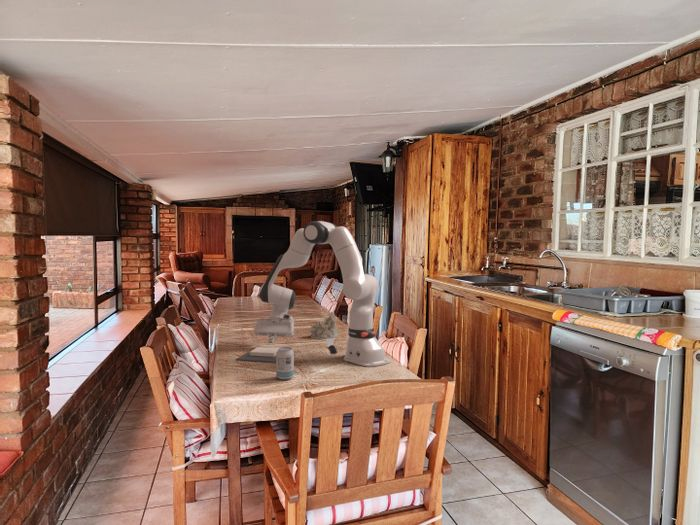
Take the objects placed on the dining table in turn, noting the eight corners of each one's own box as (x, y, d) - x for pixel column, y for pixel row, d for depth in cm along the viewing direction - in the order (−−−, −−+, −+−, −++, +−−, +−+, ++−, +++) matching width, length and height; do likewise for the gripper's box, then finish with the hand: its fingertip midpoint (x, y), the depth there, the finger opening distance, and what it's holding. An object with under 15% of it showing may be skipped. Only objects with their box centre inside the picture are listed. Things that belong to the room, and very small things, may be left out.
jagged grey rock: (340, 333, 260) (338, 308, 258) (336, 340, 244) (334, 314, 242) (314, 334, 261) (312, 309, 260) (308, 341, 245) (306, 315, 244)
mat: (250, 351, 218) (250, 350, 218) (289, 353, 214) (289, 352, 214) (236, 360, 202) (235, 359, 202) (277, 363, 198) (277, 361, 198)
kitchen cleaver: (317, 338, 244) (334, 336, 245) (317, 341, 244) (335, 339, 245) (319, 353, 213) (339, 350, 214) (319, 357, 213) (340, 354, 214)
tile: (258, 346, 218) (249, 351, 207) (282, 347, 216) (273, 353, 205) (259, 350, 218) (249, 356, 207) (282, 351, 216) (274, 357, 205)
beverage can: (294, 375, 181) (294, 346, 180) (292, 381, 174) (292, 350, 173) (277, 375, 180) (277, 346, 180) (275, 381, 174) (275, 351, 173)
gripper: (256, 314, 225) (248, 338, 216) (294, 316, 221) (288, 340, 212) (259, 321, 230) (252, 344, 221) (297, 323, 226) (291, 346, 217)
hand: (270, 342), depth 217 cm, fingers closed
